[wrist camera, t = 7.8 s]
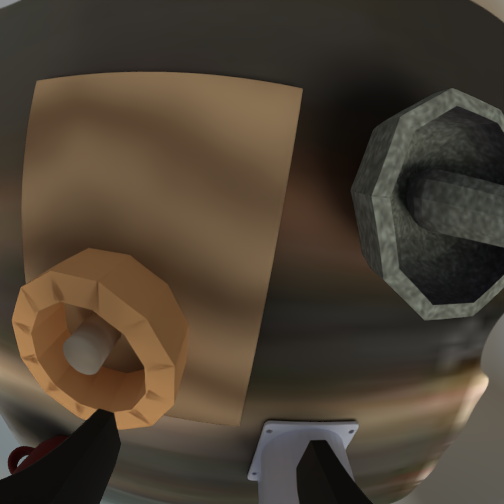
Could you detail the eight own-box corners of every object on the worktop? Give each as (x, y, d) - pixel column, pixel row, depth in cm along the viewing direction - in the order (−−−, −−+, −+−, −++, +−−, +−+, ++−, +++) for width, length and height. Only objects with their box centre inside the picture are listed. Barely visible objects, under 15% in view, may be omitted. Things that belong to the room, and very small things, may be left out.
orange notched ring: (184, 400, 18) (174, 443, 15) (59, 367, 18) (35, 399, 14) (193, 264, 16) (177, 296, 12) (42, 239, 15) (2, 258, 11)
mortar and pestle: (314, 265, 17) (408, 421, 6) (326, 101, 15) (464, 5, 3) (460, 269, 17) (581, 352, 6) (476, 138, 15) (619, 146, 3)
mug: (47, 454, 24) (19, 508, 14) (16, 410, 22) (-23, 466, 12) (116, 473, 24) (94, 540, 14) (87, 429, 21) (51, 506, 12)
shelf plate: (239, 415, 20) (238, 463, 16) (52, 371, 19) (26, 405, 15) (298, 94, 14) (318, 68, 10) (47, 84, 14) (2, 70, 9)
